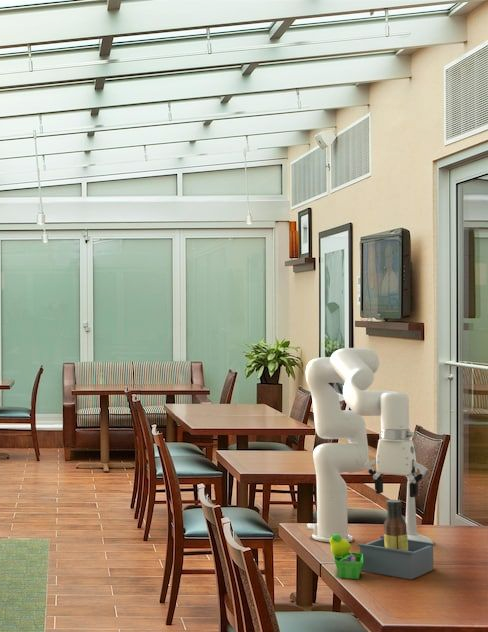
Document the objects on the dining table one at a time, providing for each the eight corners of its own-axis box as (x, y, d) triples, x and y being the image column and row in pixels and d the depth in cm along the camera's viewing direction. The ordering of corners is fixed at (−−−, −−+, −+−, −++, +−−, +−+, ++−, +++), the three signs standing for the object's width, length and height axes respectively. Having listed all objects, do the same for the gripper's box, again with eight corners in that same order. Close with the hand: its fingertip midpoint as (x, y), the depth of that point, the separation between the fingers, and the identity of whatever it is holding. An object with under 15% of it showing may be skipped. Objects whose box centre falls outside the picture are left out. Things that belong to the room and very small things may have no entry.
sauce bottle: (408, 568, 277) (407, 499, 277) (410, 573, 271) (409, 503, 271) (383, 566, 279) (382, 498, 279) (385, 571, 273) (384, 501, 273)
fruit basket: (363, 580, 263) (363, 539, 263) (329, 578, 266) (329, 537, 267) (362, 571, 274) (362, 531, 274) (330, 568, 277) (329, 529, 277)
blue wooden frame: (358, 570, 275) (357, 543, 275) (382, 560, 286) (382, 535, 286) (411, 580, 264) (411, 552, 264) (435, 569, 275) (434, 543, 275)
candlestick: (437, 547, 304) (436, 452, 304) (394, 545, 306) (393, 451, 307) (427, 538, 316) (426, 447, 317) (386, 537, 319) (385, 446, 319)
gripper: (431, 436, 272) (432, 496, 271) (371, 432, 284) (372, 490, 284) (420, 438, 267) (421, 499, 266) (360, 434, 279) (361, 493, 279)
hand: (396, 494), depth 275 cm, fingers open, 9 cm apart
